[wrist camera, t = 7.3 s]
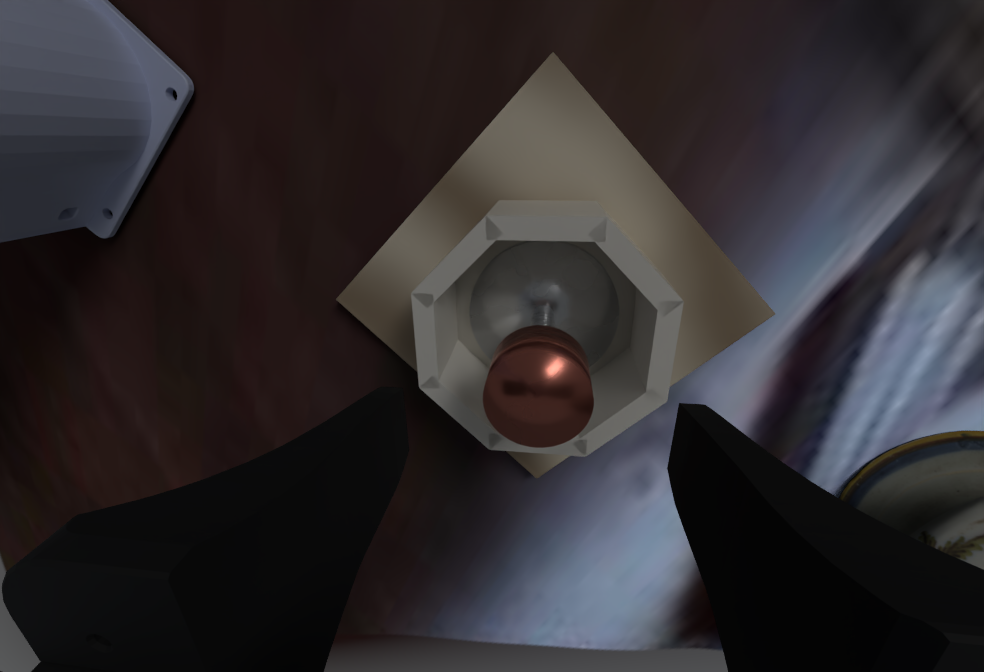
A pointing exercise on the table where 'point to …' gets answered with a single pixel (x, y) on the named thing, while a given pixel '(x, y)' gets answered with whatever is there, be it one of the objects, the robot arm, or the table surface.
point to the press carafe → (614, 377)
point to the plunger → (542, 338)
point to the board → (560, 177)
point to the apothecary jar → (929, 492)
